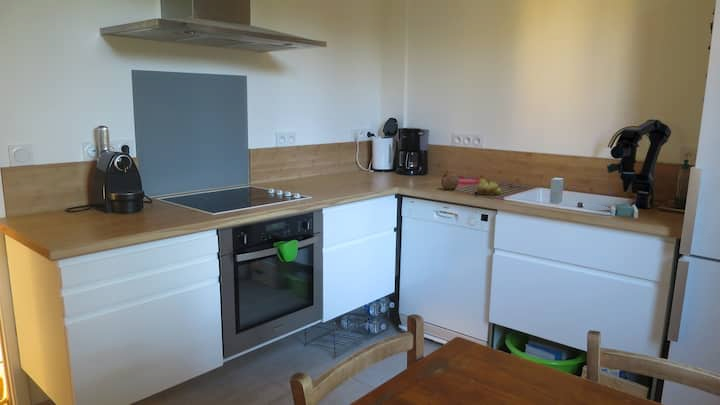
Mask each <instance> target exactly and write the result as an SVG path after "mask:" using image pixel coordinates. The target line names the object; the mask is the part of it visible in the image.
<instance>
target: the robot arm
mask: <svg viewBox="0 0 720 405" xmlns="http://www.w3.org/2000/svg"><path fill="white" fill-rule="evenodd" d="M647 134H648V139H649V146H648V149H647V152H646V155H645V159H644V161H643V163H642V167H641V170H640V172H639V173H636V169H635V168H636V163H637V152H638V148H639V147H640V145H639V142H640V141H641V140H642V139H643V136H644V135H647ZM671 135H672V130H671V128H670V127H669V126H668V125H667V124H665V123H663V122H662V121H661V120H660V119H653V118H651V119H647V120H646V121H645V122H643V123H641V124H639V125H638V126H635V127H631V128H630V127H629V128H624V129H623V130H622V131H621V133H620V135H619V137H618V139H617V141H616V143H615V145H614V146H613V147H612V148H611V150H610V156H611V157H612V158H613V159H615V160H616V159H617V160H618V159H619V162H615V163H614V162H613V163H610V164H608V165H606V169H607V172H608V174H611V173H613V172H617V174H619V175H618V177H619V179H620V180H621V183H622V191H623V193H626V192H627V191H628V189H629V188H631V193H632V194H635V202H634V203H633V204H632V205H635V206H636V208H640V209H641V208H642V209H651V206H650V199H651V198H650V197H652V196H653V197H654V196H655V195H656V188H655V186H654V178H653V173H654V170H655V167H656V163H657V161H658V157H659V155H660V153H661V152H660V151H661V149H662V147H663V146H664V145H665V144H666V143H668V141H669V138H670V137H671ZM630 186H631V187H630Z"/></svg>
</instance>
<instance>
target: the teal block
mask: <svg viewBox="0 0 720 405" xmlns="http://www.w3.org/2000/svg"><path fill="white" fill-rule="evenodd" d="M616 209H617V210H616V212H615V214H616V215H617V216H620V217H632V215H633V214H632V205H630V204H620V203H617V204H616Z"/></svg>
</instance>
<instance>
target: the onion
mask: <svg viewBox="0 0 720 405" xmlns="http://www.w3.org/2000/svg"><path fill="white" fill-rule="evenodd" d="M440 183H441V186H442V188H443V189H444V190H446V191H454V190H455V189H456V188H457V187H458V185H459V177H458V176H457V175H456V174H453V173H445V174H443V176H442V177H441V181H440Z"/></svg>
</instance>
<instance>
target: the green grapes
mask: <svg viewBox="0 0 720 405" xmlns="http://www.w3.org/2000/svg"><path fill="white" fill-rule="evenodd" d="M477 183H478V184H477V187H476V192H477V193H478V194H479V195H486V194H487V195H486V196H492V195H493V196H497V195H500V194H502V188H500V187H499V184H498V183H497V182H495V181H491V180H490V181H488V179H486V178H484V177H482V178H479V180H478V182H477Z"/></svg>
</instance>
